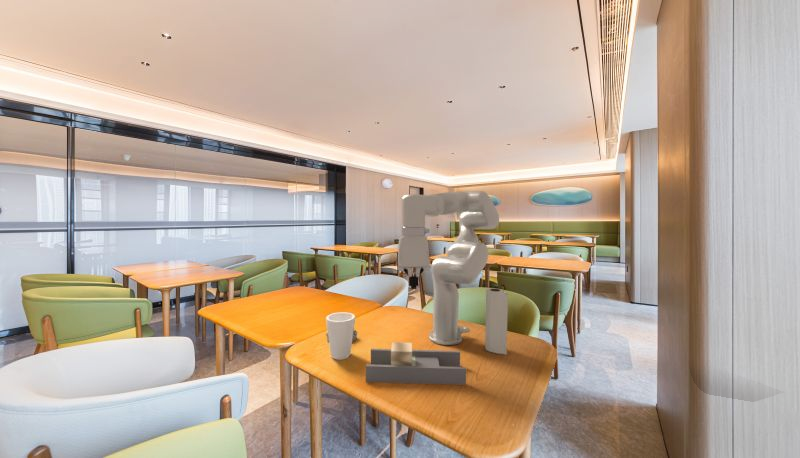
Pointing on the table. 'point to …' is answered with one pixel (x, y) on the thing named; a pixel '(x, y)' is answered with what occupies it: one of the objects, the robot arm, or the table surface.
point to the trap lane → (417, 368)
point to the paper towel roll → (496, 321)
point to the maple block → (401, 354)
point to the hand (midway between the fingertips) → (413, 288)
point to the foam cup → (340, 334)
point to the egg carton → (352, 338)
